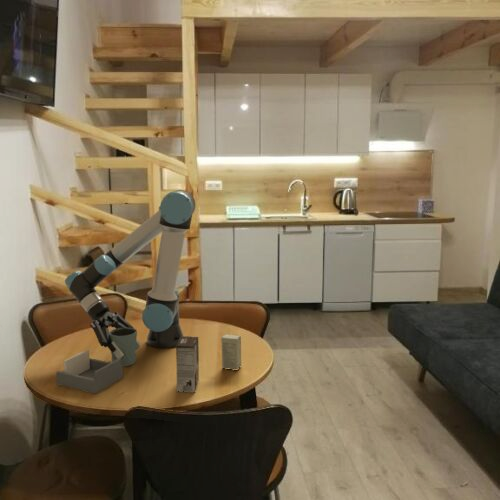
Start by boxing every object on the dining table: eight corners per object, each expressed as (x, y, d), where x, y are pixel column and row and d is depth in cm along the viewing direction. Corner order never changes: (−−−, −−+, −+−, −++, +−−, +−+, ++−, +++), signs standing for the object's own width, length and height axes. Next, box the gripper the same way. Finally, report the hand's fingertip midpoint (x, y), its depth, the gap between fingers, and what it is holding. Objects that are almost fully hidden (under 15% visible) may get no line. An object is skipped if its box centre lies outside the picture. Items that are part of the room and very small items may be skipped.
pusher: (63, 380, 163) (62, 360, 162) (87, 367, 173) (86, 349, 172) (66, 380, 162) (65, 361, 161) (89, 368, 173) (89, 350, 171)
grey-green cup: (112, 368, 175) (110, 337, 173) (108, 358, 184) (107, 328, 183) (140, 364, 179) (139, 333, 177) (135, 355, 188) (134, 325, 187)
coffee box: (180, 380, 167) (180, 335, 164) (199, 380, 167) (199, 336, 164) (176, 392, 158) (175, 345, 155) (195, 392, 158) (195, 345, 155)
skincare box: (241, 367, 179) (241, 335, 177) (237, 371, 175) (237, 339, 172) (225, 364, 181) (225, 333, 179) (221, 369, 177) (221, 337, 175)
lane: (56, 384, 163) (55, 364, 161) (86, 369, 175) (85, 350, 174) (95, 393, 156) (94, 373, 155) (123, 377, 169) (122, 358, 168)
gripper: (109, 305, 195) (142, 348, 192) (68, 320, 175) (104, 369, 171) (119, 293, 192) (153, 337, 189) (79, 308, 172) (116, 357, 168)
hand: (130, 352), depth 180 cm, fingers closed on grey-green cup, 10 cm apart
